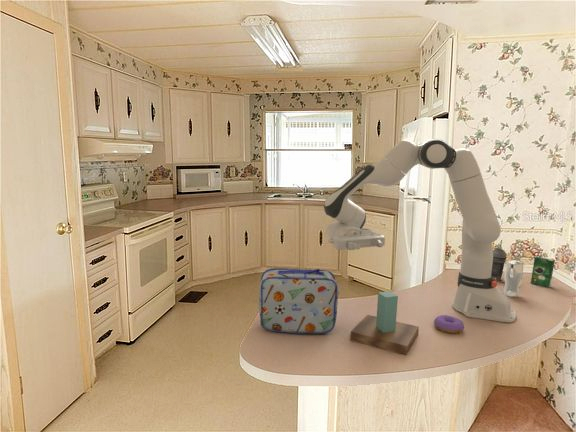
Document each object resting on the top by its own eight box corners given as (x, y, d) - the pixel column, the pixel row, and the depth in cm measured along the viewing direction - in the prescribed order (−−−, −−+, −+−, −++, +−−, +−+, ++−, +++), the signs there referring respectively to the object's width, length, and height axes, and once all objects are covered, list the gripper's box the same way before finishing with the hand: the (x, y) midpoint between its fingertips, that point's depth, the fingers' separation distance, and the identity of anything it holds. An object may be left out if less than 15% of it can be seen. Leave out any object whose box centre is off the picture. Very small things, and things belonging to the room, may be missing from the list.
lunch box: (336, 323, 143) (339, 263, 140) (340, 336, 133) (344, 272, 130) (259, 322, 143) (260, 262, 139) (257, 335, 133) (258, 271, 129)
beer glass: (522, 298, 172) (526, 264, 170) (504, 297, 173) (508, 263, 171) (516, 293, 179) (520, 260, 177) (499, 291, 180) (503, 259, 178)
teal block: (387, 325, 136) (389, 291, 134) (395, 330, 132) (397, 295, 130) (375, 326, 134) (378, 292, 132) (383, 332, 130) (385, 297, 128)
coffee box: (551, 286, 189) (555, 259, 187) (549, 287, 187) (553, 260, 185) (532, 282, 195) (535, 255, 193) (530, 283, 193) (533, 256, 191)
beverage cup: (498, 277, 201) (503, 237, 198) (507, 281, 194) (512, 241, 191) (484, 276, 201) (488, 237, 198) (492, 281, 194) (497, 241, 190)
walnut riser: (418, 334, 136) (418, 326, 135) (406, 355, 122) (407, 346, 122) (366, 322, 145) (367, 314, 144) (350, 340, 131) (350, 331, 130)
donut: (428, 327, 141) (431, 314, 141) (438, 325, 148) (441, 312, 148) (457, 337, 134) (460, 323, 134) (466, 334, 141) (469, 320, 141)
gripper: (326, 232, 153) (344, 239, 140) (373, 228, 160) (393, 235, 147) (326, 248, 154) (343, 257, 141) (372, 244, 161) (393, 252, 148)
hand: (369, 246), depth 144 cm, fingers open, 8 cm apart
